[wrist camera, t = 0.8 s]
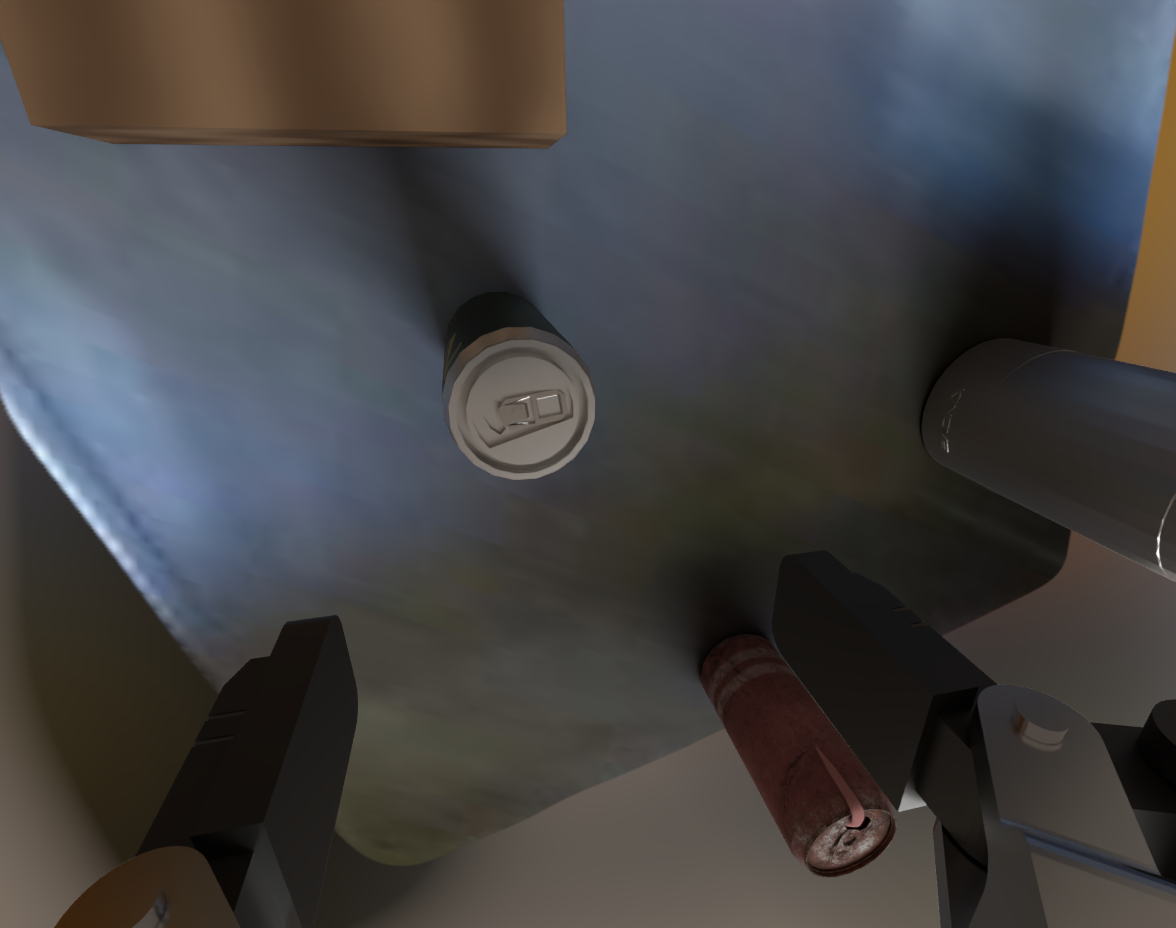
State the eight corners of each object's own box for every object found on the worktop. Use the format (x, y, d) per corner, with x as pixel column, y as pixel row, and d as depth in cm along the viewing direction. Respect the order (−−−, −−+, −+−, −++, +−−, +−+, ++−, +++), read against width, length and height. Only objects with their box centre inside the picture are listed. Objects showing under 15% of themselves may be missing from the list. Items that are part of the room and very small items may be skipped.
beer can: (539, 281, 29) (590, 317, 18) (556, 382, 31) (610, 467, 20) (433, 299, 28) (421, 348, 17) (458, 401, 30) (462, 500, 19)
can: (766, 616, 41) (902, 787, 29) (776, 676, 44) (904, 855, 32) (690, 645, 41) (795, 833, 28) (705, 704, 44) (807, 898, 31)
